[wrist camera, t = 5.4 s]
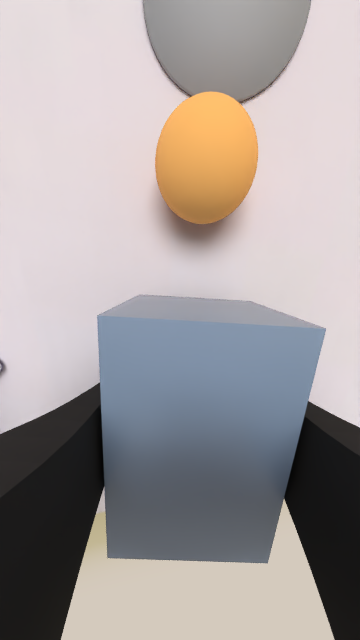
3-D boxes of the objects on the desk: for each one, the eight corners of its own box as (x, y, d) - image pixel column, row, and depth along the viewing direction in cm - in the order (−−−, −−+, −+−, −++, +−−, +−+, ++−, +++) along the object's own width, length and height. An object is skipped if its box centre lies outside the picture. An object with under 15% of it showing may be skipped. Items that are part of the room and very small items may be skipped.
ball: (199, 249, 10) (213, 233, 6) (144, 192, 10) (120, 136, 6) (254, 188, 10) (306, 129, 6) (198, 122, 9) (214, 6, 5)
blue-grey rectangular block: (229, 440, 12) (267, 563, 7) (138, 436, 12) (107, 558, 7) (250, 301, 10) (326, 328, 5) (139, 294, 10) (97, 315, 5)
